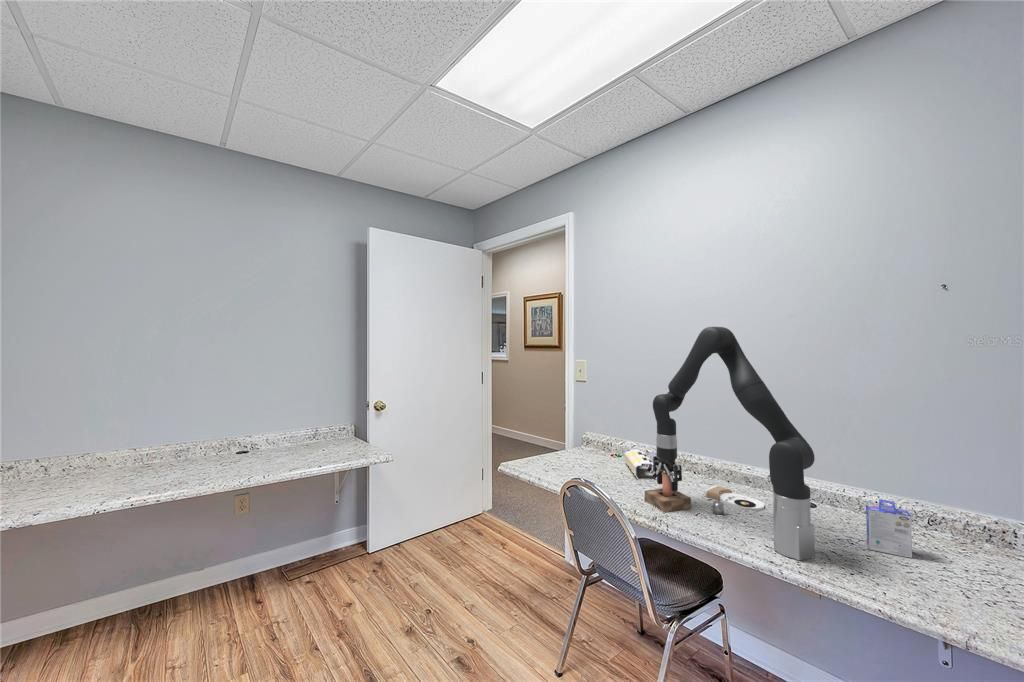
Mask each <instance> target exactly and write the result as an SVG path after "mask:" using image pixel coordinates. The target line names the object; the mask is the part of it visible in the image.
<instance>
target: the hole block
mask: <svg viewBox="0 0 1024 682" xmlns="http://www.w3.org/2000/svg"><path fill="white" fill-rule="evenodd" d="M646 501H647V502H648V504H649V503H650V505H651V504H652V505H653V506H652V505H651V506H652V507H654V506H655V507H654V508H656V507H657V508H658V509H657V508H656V509H657V510H659V509H660V510H659V511H661V510H662V511H663V512H662V511H661V512H662V513H668V512H667V511H671V512H676V511H675V510H678V511H683V510H682V509H685V510H690V508H691V509H692V497H690V496H688V495H686V494H684V493H682V492H680V491H678V490H677V491H675V492H673V491H672V497H664V496H663V494H662V488H655V489H646V490H644V502H646ZM647 502H646V503H647Z"/></svg>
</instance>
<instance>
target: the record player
mask: <svg viewBox="0 0 1024 682" xmlns="http://www.w3.org/2000/svg"><path fill="white" fill-rule="evenodd" d="M704 497H706V498H708V499H711V500H714V499H715V501H719V502H722V503H723V504H724V505H726V504H727V506H729V505H730V507H733V506H734V507H733V508H736V507H737V508H736V509H739V508H740V510H743V509H744V511H748V510H751V511H750V512H760V510H761V511H763V510H764V509H765V503H764V502H762V501H761V500H759V499H756V498H753V497H749V496H747V495H744V494H743V495H742V494H739V493H733V491H732V490H731V489H729V488H727V487H723V486H719V485H714V486H711V487H708V488H706V489H705V490H704Z"/></svg>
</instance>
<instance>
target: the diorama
mask: <svg viewBox="0 0 1024 682" xmlns="http://www.w3.org/2000/svg"><path fill="white" fill-rule="evenodd" d="M623 456H624V462H625V463H626V466H627V467H628V466H629V467H628V468H629V470H630V469H631V470H630V471H631V472H632V473H634V474H633V475H634V476H636V477H635V478H636V479H637V480H638V479H639V477H638V476H637V468H638V467H642V466H643V465H644V466H645V467H647V465H648V468H647V469H646V470H648V471H649V472H650V473H649V472H648V471H647V472H648V473H649V474H651V472H652V471H653V457H655V456H656V453H655V450H654V449H652V455H651V456H652V458H650V457H648V455H647V454H646V453H645V452H644V451H643V450H642V451H641V450H640V448H639V449H636V448H635V449H634V448H633V449H631V448H630V449H629V450H626V451H625V452H624V454H623ZM642 464H643V465H642ZM644 466H643V467H644ZM656 468H657V466H656ZM653 477H654V478H655V479H656V480H657V474H656V472H655V471H654V473H653V475H652V478H653ZM654 478H653V479H654ZM655 479H654V480H655Z"/></svg>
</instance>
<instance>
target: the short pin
mask: <svg viewBox="0 0 1024 682" xmlns="http://www.w3.org/2000/svg"><path fill="white" fill-rule="evenodd" d="M724 505H725V504H724V503H722V502H720V501H718V500H715V501H714V500H713V501H712V514H713V515H714V514H715V515H714V516H717V515H723V516H725V513H724V512H725V511H724V510H725V509H724Z"/></svg>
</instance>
